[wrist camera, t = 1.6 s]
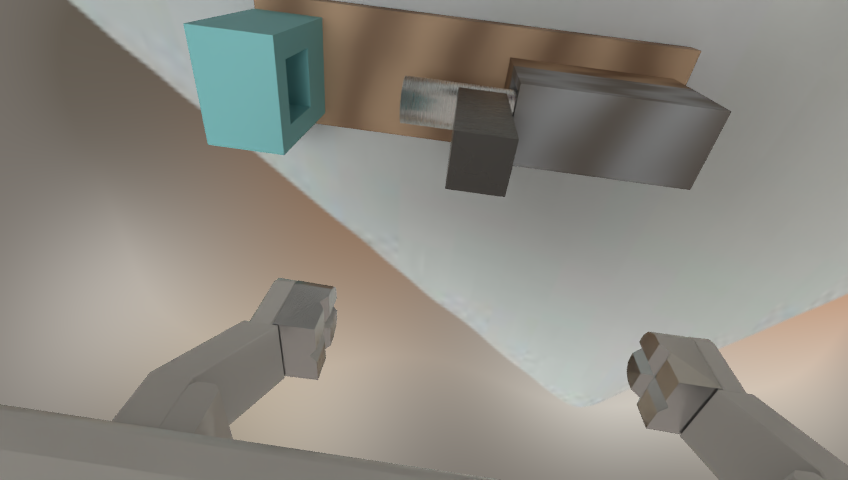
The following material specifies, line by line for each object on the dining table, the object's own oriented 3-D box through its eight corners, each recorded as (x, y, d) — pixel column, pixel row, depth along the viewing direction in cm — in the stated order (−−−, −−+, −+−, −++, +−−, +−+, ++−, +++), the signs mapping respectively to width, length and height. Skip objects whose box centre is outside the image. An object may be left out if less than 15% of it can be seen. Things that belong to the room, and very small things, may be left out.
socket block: (322, 17, 30) (272, 35, 22) (325, 112, 34) (283, 155, 26) (255, 8, 30) (183, 23, 23) (265, 104, 34) (207, 144, 27)
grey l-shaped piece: (676, 106, 27) (772, 173, 19) (657, 149, 29) (737, 229, 20) (408, 70, 28) (378, 120, 19) (404, 115, 29) (376, 179, 21)
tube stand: (691, 47, 30) (769, 77, 22) (642, 161, 35) (691, 218, 27) (261, -9, 31) (189, 1, 23) (274, 111, 36) (218, 153, 28)
